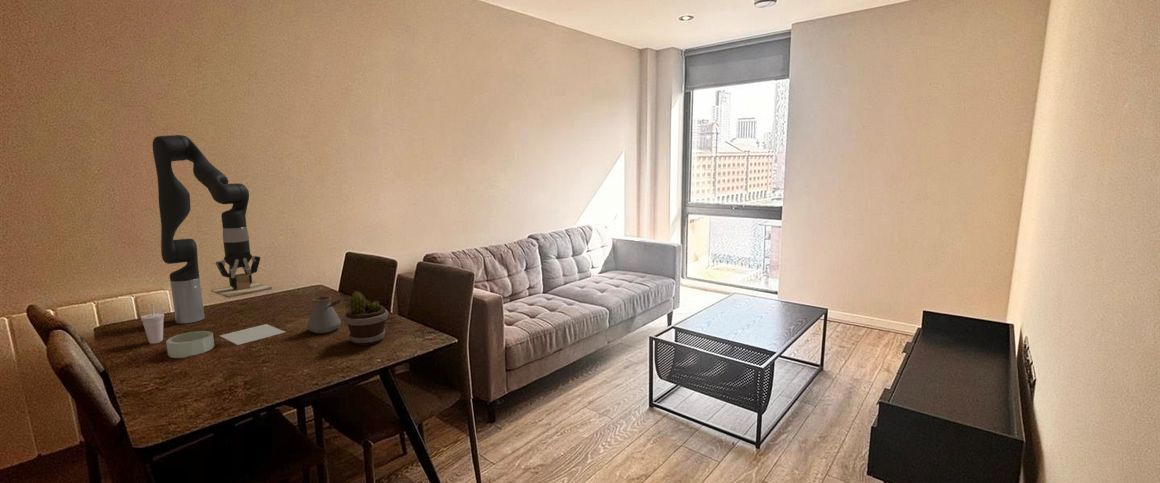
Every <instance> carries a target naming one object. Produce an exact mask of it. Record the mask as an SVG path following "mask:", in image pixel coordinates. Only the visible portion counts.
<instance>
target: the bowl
mask: <svg viewBox="0 0 1160 483" xmlns="http://www.w3.org/2000/svg"><path fill="white" fill-rule="evenodd" d="M165 342H166V343H165V344H166V349H167V350H166V351H167V356H168V357H170V358H171V359H183V358H185V359H186V358H188V357H192V356H196V355H200V354H203V353H207V352H209V351H210V350H213V348H214V347H215V340H214V333H213V332H212V331H209V330H198V331H188V332H185V333H180V334H175V335H174V336H172V337H171V336H170V337H169V338H168V339H167V340H166V341H165Z"/></svg>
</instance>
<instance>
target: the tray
mask: <svg viewBox="0 0 1160 483" xmlns="http://www.w3.org/2000/svg"><path fill="white" fill-rule="evenodd" d="M284 333H286V331H284V330H282V329H279V328H277V327H275V326H273V325H269V324H268V323H266V324H261V325H257V326H254V327H253V326H252V327H249V328H245V329H241V330H237V331H233V332H229V333H223V334H220V335H219V337H221V338H223V339H225V340H227V341H229V342H231V343H233V344H235V345H237V346H239V345H243V344H246V343H250V342H254V341H258V340H262V339H265V338H269V337H274V336H277V335H281V334H284Z"/></svg>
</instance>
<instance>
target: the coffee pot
mask: <svg viewBox="0 0 1160 483" xmlns="http://www.w3.org/2000/svg"><path fill="white" fill-rule="evenodd" d="M331 300H332V297H331V296H328V295H327V296H326V295H325V296H317V297H314V298H312V302H313V304H314V306H313V309H312V312H311V313H310V316H309V319H308V322H307V325H306V328H307V329H308V331H310V332H312V333H315V334H330V333H333V332H334V331H336V330H337V329H338V328H339V327H340V325H341V324H342V323H341V322H342V320H341V319H340V317H339V315H338V314H337V312H336V310H335V309H334V307H333V306H337V307H341V306H342V305H343V303H344V302H343V301H342V300H339V299H338V300H335V301H333V302H332V303H331ZM340 302H341V303H342V304H340V305H339V303H340Z"/></svg>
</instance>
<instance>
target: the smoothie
mask: <svg viewBox="0 0 1160 483" xmlns="http://www.w3.org/2000/svg"><path fill="white" fill-rule="evenodd" d="M150 306H151V313H149V314H144V315H142V316H141V317H140V321H142V324H143V327H144V331H145V334H146V337H147V339H148V343H149V344H152V345H153V344H158V343H161V342H163V340H164V318H165V314H164V312H163V313H161V312H158V313H157V312H156V313H155V307H154V303H151V304H150Z"/></svg>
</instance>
